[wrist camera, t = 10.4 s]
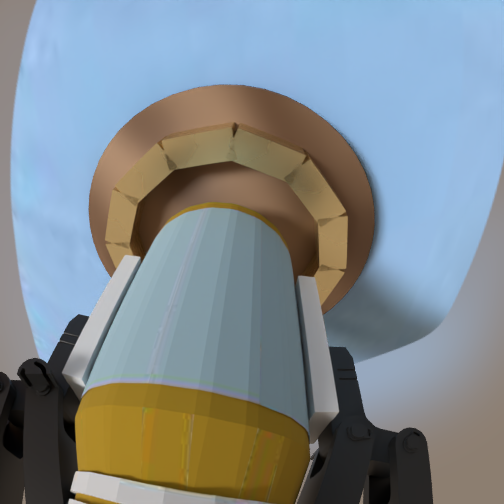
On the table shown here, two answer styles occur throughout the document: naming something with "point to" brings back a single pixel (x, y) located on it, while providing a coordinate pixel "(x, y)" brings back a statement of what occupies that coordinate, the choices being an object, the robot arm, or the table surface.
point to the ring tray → (237, 179)
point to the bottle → (200, 373)
